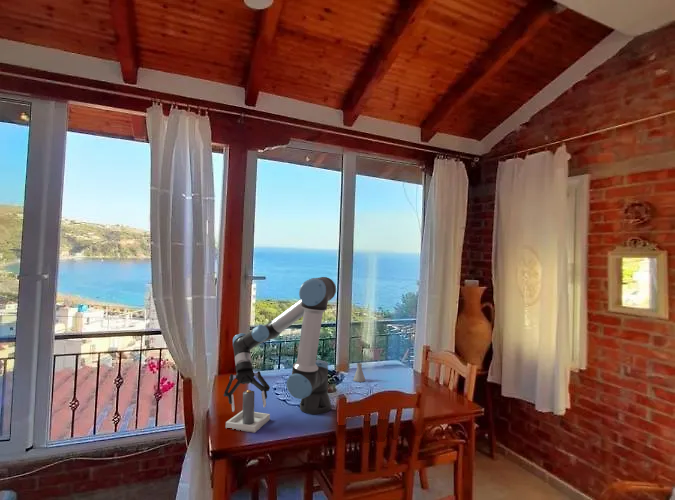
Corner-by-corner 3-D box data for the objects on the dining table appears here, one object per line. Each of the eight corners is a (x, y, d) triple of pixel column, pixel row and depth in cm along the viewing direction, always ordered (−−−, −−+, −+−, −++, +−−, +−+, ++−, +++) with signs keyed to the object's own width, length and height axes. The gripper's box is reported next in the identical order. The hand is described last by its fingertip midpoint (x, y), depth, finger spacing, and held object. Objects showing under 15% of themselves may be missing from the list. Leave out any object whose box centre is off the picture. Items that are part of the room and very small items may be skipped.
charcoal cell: (256, 420, 180) (256, 389, 180) (250, 425, 175) (250, 393, 175) (246, 419, 181) (246, 388, 181) (240, 423, 176) (240, 391, 176)
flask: (361, 383, 234) (361, 366, 234) (350, 381, 238) (351, 364, 238) (367, 379, 240) (367, 363, 240) (356, 377, 244) (357, 361, 244)
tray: (269, 419, 183) (269, 414, 183) (254, 432, 169) (254, 426, 169) (242, 415, 187) (242, 410, 187) (225, 428, 173) (225, 422, 173)
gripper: (268, 366, 197) (275, 407, 183) (215, 371, 187) (219, 416, 173) (271, 357, 192) (279, 400, 178) (216, 363, 182) (220, 408, 169)
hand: (249, 408), depth 176 cm, fingers open, 13 cm apart
